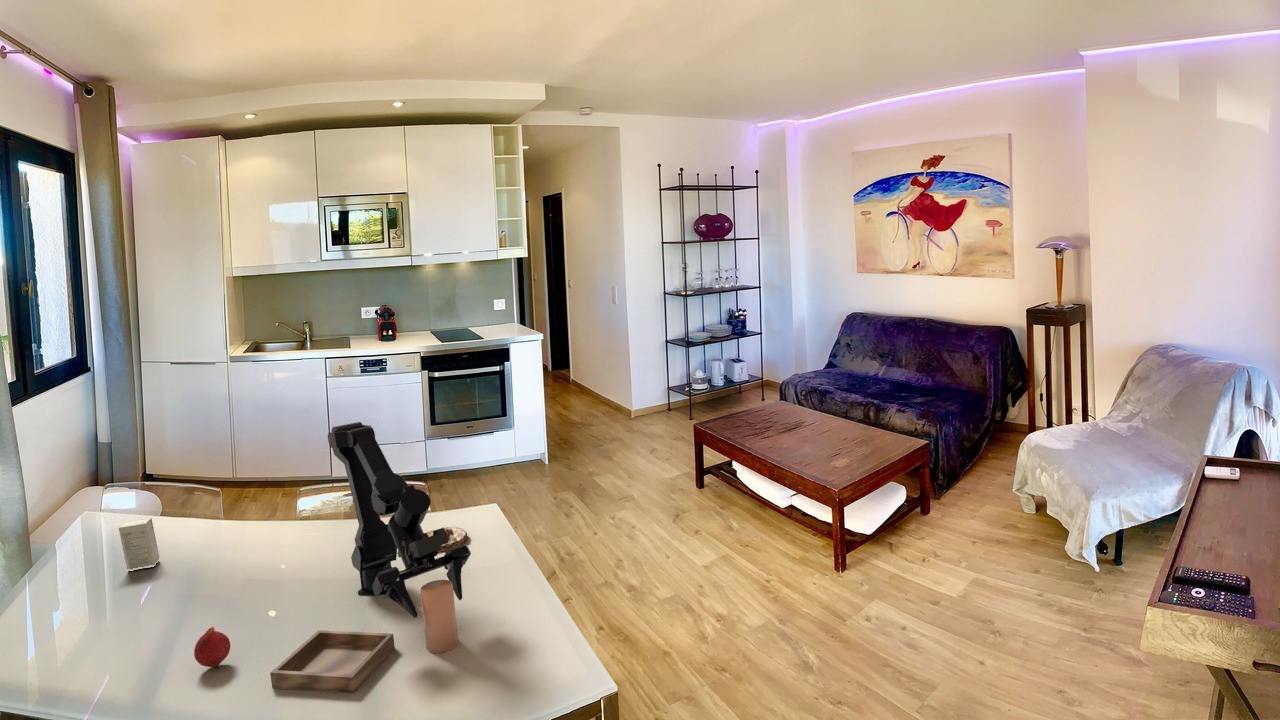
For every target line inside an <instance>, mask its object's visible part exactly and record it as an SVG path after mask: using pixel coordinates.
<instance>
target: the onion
mask: <svg viewBox="0 0 1280 720" xmlns="http://www.w3.org/2000/svg"><path fill="white" fill-rule="evenodd" d="M230 651H231V641H230V638H229V637H228V636H227V635H226V634H225V633H223V632H221V631H218V630H215V627H214V626H210V627H208V628H207V629H206V631H205V633H203V635H201V637H199V639H198V641H196V644H195V646H194V649H193V655H194V659H195V661H196V662H198V664H199V665H200V666H204V667H206V668H217V667H219V666H220V664H221V663H222V662H224V660H226V659H227V657H228V655H229V654H230ZM218 665H219V666H218ZM216 666H217V667H216Z"/></svg>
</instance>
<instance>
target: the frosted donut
mask: <svg viewBox="0 0 1280 720" xmlns="http://www.w3.org/2000/svg"><path fill="white" fill-rule="evenodd" d="M443 528H444V529H445V531H446V533H447V536H448V539H449V542H448V543H446V544H443V545H441V546H442V550H439V551H438V553H439V552H440V553H441V552H446V551H447V550H448V549H449V548H452V547H455V546H457V545H460V544H464V545H465V543H467V541H468V533H467V531H466V530H465V529H463V528H462V527H458V526H449V527H447V526H446V527H443ZM435 530H436V529H434V530H430V531H427V532H426V533H427V534H428V537H430V536H433V531H435Z"/></svg>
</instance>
